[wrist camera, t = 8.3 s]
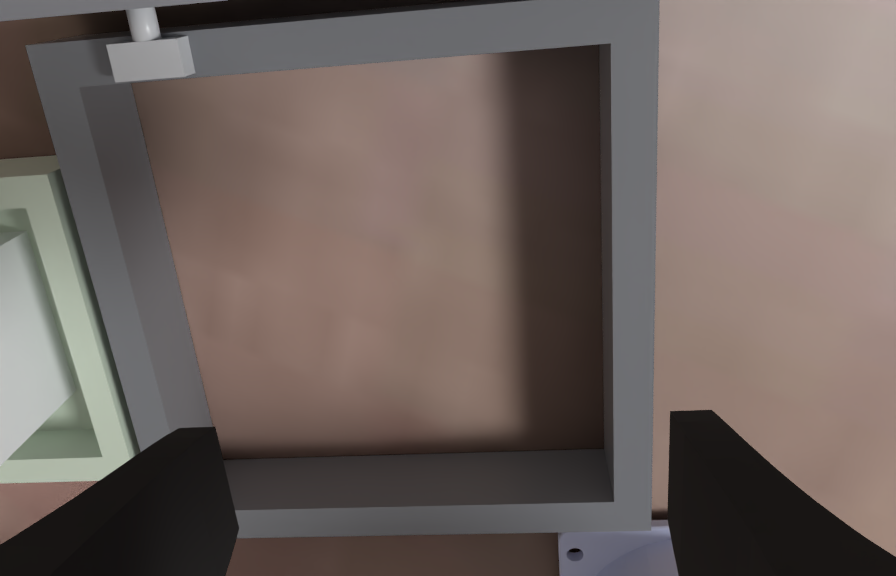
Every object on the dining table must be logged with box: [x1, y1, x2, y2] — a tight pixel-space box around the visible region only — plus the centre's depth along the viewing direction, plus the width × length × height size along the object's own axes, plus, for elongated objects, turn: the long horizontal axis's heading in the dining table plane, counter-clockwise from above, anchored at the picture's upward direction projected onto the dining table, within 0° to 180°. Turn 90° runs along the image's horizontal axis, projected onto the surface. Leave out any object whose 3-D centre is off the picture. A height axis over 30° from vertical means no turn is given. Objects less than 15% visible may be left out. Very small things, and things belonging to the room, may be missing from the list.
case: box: [0, 0, 659, 538], centre depth 19 cm, size 15×14×5 cm
